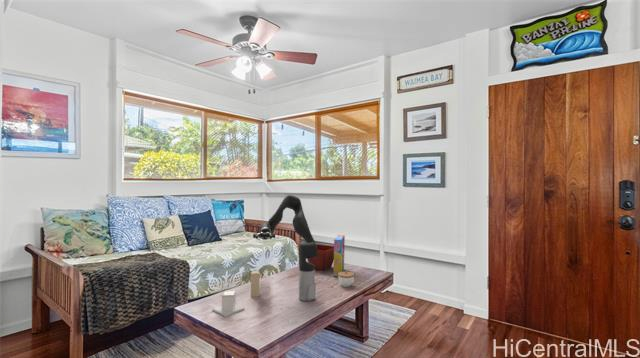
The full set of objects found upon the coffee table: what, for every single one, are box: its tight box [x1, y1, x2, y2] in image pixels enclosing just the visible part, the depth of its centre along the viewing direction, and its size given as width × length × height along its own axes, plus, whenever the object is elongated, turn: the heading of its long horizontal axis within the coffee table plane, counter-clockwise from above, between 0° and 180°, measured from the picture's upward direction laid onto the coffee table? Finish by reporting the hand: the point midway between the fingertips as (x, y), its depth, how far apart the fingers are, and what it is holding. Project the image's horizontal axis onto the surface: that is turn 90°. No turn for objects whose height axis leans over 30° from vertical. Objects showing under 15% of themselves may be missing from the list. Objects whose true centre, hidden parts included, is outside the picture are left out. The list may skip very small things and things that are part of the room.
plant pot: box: [306, 243, 334, 272], centre depth 248 cm, size 19×19×17 cm
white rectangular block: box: [221, 290, 237, 311], centre depth 166 cm, size 6×6×8 cm
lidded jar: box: [337, 270, 355, 288], centre depth 209 cm, size 11×11×9 cm
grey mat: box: [211, 303, 245, 318], centre depth 166 cm, size 12×12×1 cm
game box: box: [332, 234, 346, 277], centre depth 237 cm, size 21×6×27 cm, turn 168°
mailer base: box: [250, 270, 260, 298], centre depth 188 cm, size 5×5×14 cm
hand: (263, 237), depth 195 cm, fingers open, 8 cm apart
